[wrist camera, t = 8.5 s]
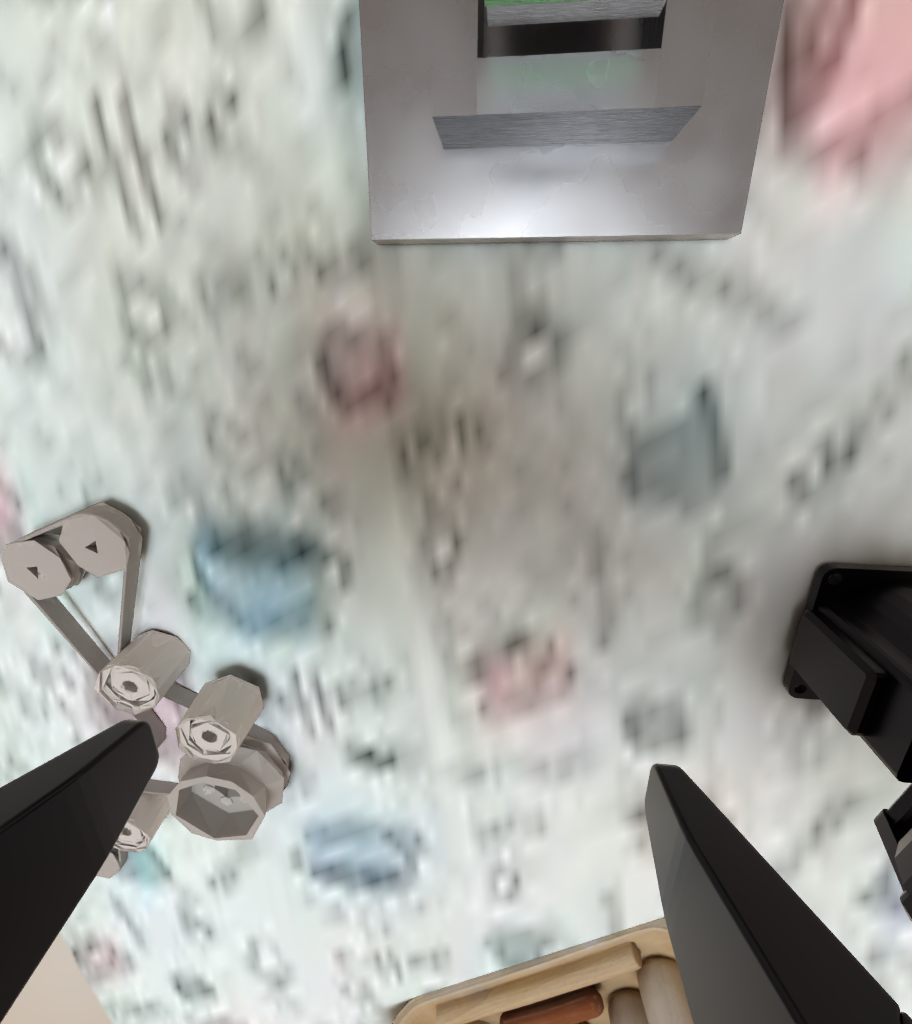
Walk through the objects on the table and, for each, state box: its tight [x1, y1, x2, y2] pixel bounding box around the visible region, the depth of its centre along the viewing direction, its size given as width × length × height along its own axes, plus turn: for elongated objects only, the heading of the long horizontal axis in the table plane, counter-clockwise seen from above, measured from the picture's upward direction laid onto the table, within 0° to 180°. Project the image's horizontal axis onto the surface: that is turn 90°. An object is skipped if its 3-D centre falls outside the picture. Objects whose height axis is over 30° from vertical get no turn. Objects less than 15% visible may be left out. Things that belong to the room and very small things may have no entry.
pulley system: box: [2, 502, 290, 878], centre depth 26 cm, size 27×5×15 cm
